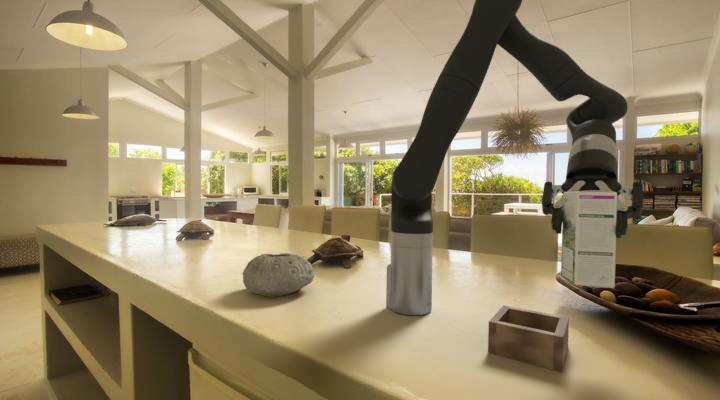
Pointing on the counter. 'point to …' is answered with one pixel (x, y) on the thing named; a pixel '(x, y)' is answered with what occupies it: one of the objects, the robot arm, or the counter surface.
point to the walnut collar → (529, 337)
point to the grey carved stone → (277, 274)
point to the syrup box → (589, 238)
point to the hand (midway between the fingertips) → (587, 232)
